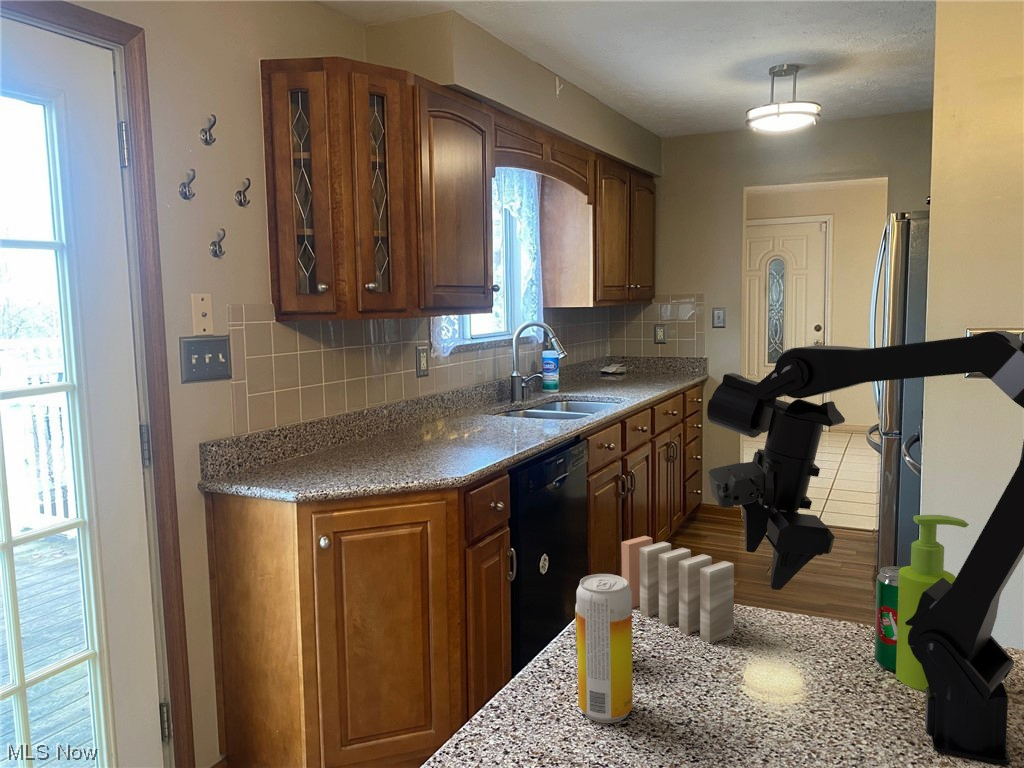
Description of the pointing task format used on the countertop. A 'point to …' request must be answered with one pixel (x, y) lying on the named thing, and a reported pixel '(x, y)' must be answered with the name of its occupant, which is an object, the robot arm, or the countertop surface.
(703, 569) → the domino
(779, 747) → the countertop surface
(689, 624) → the domino
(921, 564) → the soap dispenser
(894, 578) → the soda can
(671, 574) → the domino
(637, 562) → the domino
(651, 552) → the domino
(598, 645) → the beer can
